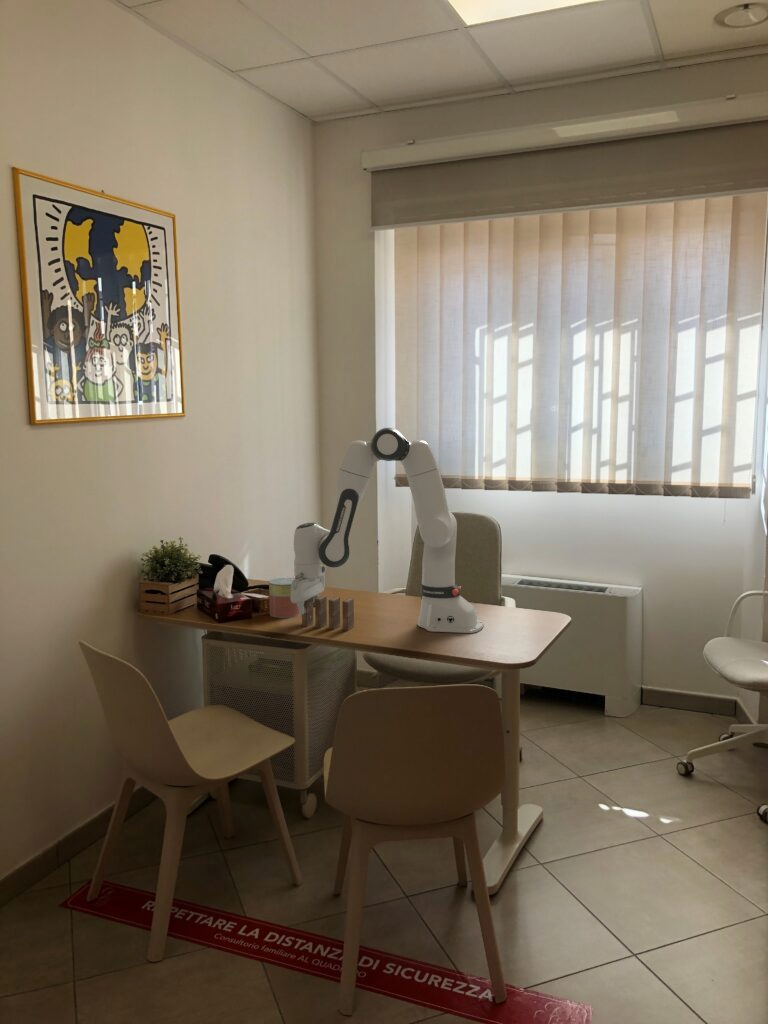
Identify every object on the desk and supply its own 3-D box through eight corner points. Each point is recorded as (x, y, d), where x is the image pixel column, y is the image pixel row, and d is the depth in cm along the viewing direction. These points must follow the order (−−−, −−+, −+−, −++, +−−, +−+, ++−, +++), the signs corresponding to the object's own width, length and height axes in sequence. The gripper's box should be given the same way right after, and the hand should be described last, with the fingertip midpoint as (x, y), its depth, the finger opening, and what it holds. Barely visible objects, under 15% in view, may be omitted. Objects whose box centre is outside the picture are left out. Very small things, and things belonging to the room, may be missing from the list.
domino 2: (326, 624, 294) (326, 596, 293) (320, 628, 289) (320, 599, 288) (321, 624, 295) (321, 595, 293) (315, 627, 290) (315, 598, 289)
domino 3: (340, 625, 292) (340, 597, 291) (334, 629, 288) (334, 600, 286) (334, 625, 293) (334, 596, 292) (328, 629, 288) (328, 600, 287)
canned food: (303, 610, 314) (303, 578, 312) (297, 618, 303) (297, 584, 301) (273, 609, 315) (272, 577, 313) (266, 617, 304) (265, 584, 302)
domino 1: (313, 623, 296) (313, 594, 294) (307, 626, 291) (307, 598, 290) (308, 622, 296) (307, 594, 295) (301, 626, 292) (301, 597, 290)
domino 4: (353, 627, 291) (353, 598, 289) (348, 631, 286) (347, 601, 285) (348, 626, 291) (348, 597, 290) (342, 630, 287) (342, 601, 285)
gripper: (302, 577, 280) (303, 618, 282) (327, 565, 299) (328, 604, 301) (285, 576, 283) (286, 617, 284) (311, 564, 302) (312, 603, 303)
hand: (308, 610), depth 293 cm, fingers open, 8 cm apart
